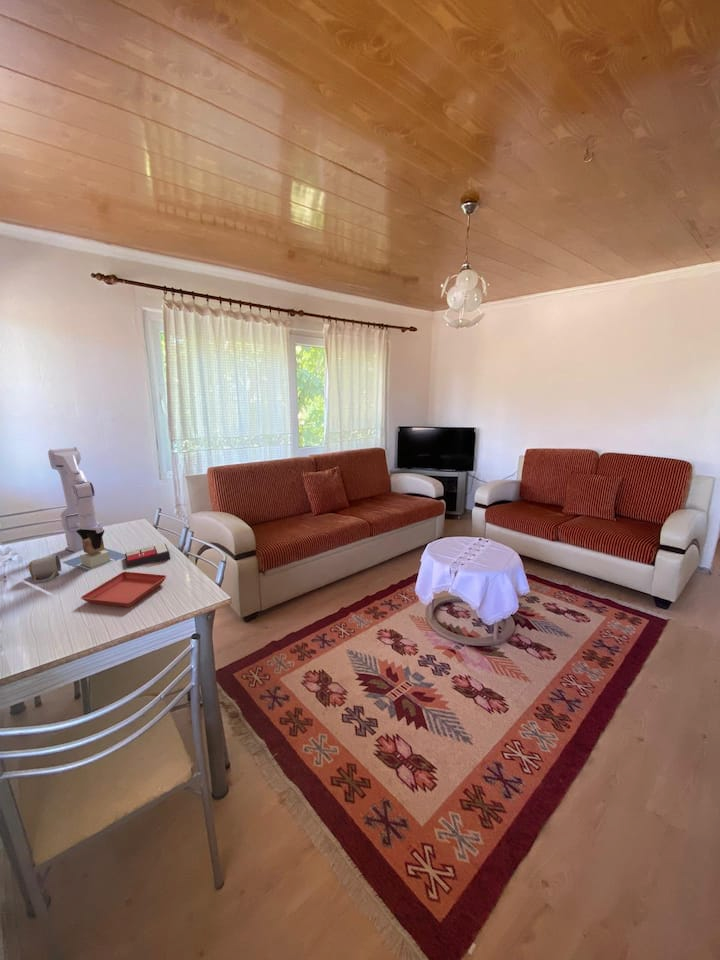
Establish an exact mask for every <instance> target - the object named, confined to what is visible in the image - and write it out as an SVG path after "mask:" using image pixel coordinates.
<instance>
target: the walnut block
mask: <svg viewBox="0 0 720 960" xmlns="http://www.w3.org/2000/svg"><path fill="white" fill-rule="evenodd" d="M82 544H83V549H84V550H83V552H84V553H88V554H94V553H97V552H100V551H103V550H105V549H104V548H105V544H104V539H103V537H102V539H101V547H100V548H98V549H94V548H93V546H92V543H91V540H90V539H89V538H87V539H83V540H82Z"/></svg>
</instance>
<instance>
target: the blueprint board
mask: <svg viewBox="0 0 720 960" xmlns="http://www.w3.org/2000/svg"><path fill="white" fill-rule="evenodd" d="M104 549H105V551H108V552H109V556H110V561H109V562H106V563H104V564H101V565H98V566H96V567H93V568H90V567H87V566H85V565H82V563H81V558H80V555H79V556H76V557H73V558H70V559H67V560H65V561H64V560H63V561H62V563H63V564H65V565H67V566H71V567H73V568H76V569H78V570H81V571H84V572H89V571H92V570H95V569H98V568H99V567H103V566H106V565H108V564H111V563H114V562H116V561H118V560H121V559H124V558H125V553H122V552H118V551H115V550H114V549H113V550H112V549H110V548H109V549H108V548H106V547H104Z"/></svg>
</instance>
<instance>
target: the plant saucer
mask: <svg viewBox="0 0 720 960" xmlns="http://www.w3.org/2000/svg"><path fill="white" fill-rule="evenodd" d="M166 578H167V575H164V574H155V573H154V574H153V573H145V572H144V573H143V572H132V571H122V572H120V573H119V574H117V575H115V576H113V577H112V578H111V579H108V580H106V581H105V582H104V583H102V584H101V585H99V586H97V587H96V588H93V589H92V590H90V591H88V592H86V593H84V594H83V595H82V596H81V597H80V599H81V600H82V601H85V602H87V603H90V604H93V603H94V605H101V606H103V605H104V606H112V607H121V608H131V607H132V606H133V605H135V604H137V602H139V601H140V600H142V599H143V598H145V597H146V596H148V595H149V594H150V593H152V592H153V591H155V590H156V589H158V587H160V586H161V585H162V584H163V583H164V581H165V579H166ZM130 606H131V607H130Z"/></svg>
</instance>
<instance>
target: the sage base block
mask: <svg viewBox="0 0 720 960" xmlns="http://www.w3.org/2000/svg"><path fill="white" fill-rule="evenodd" d="M79 556H80V558H81V563H82V565H85V566H87V567H90V568H93V567H96V566H98V565H101V564H104V563H106V562H109V561H110V556H109V552H108V551H105V550H103V551H100V552H97V553H94V554H88V553H85V552H84V553H81V554H79Z"/></svg>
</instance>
